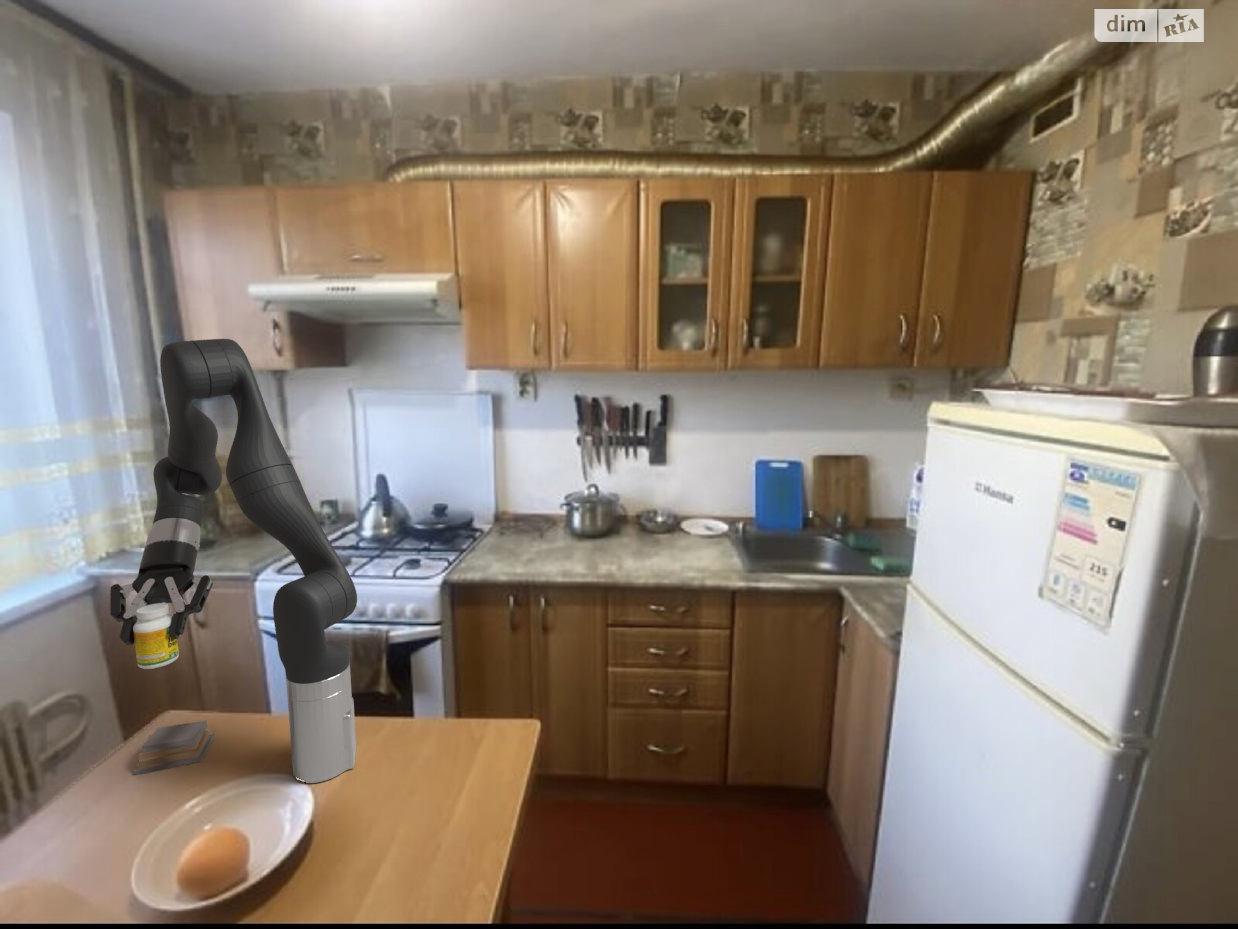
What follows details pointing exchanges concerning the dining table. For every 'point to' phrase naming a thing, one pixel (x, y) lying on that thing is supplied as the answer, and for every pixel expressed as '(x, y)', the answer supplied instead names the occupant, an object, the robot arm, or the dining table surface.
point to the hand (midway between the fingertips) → (151, 639)
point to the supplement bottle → (154, 637)
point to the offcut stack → (174, 747)
